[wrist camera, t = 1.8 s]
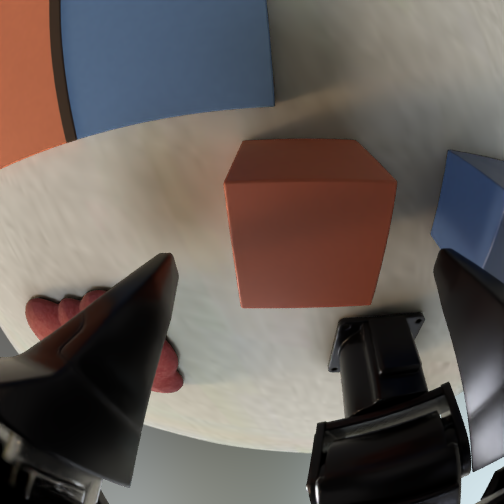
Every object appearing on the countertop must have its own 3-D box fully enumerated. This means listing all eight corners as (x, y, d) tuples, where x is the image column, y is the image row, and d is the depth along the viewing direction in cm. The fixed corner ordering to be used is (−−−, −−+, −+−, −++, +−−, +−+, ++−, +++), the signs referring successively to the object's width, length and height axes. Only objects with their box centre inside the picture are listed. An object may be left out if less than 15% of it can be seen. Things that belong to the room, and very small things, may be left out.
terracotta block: (347, 234, 14) (371, 305, 10) (251, 236, 15) (240, 309, 10) (355, 139, 11) (398, 181, 7) (242, 140, 12) (222, 181, 8)
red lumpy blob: (132, 282, 17) (121, 303, 16) (206, 386, 25) (202, 403, 23) (13, 296, 21) (3, 309, 19) (83, 374, 29) (78, 387, 27)
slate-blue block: (488, 235, 13) (529, 287, 9) (429, 234, 13) (469, 297, 9) (508, 161, 10) (564, 203, 6) (447, 149, 11) (509, 193, 7)
